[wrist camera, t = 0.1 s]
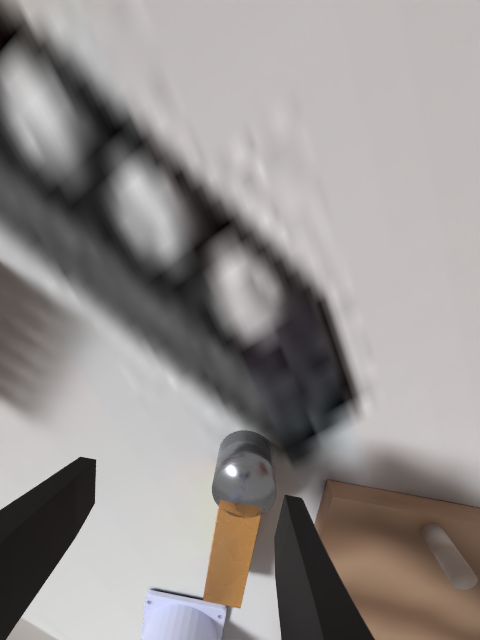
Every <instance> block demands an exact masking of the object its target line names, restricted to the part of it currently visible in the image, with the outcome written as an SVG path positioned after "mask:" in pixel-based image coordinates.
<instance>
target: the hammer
mask: <svg viewBox="0 0 480 640" xmlns="http://www.w3.org/2000/svg"><path fill="white" fill-rule="evenodd" d="M212 494H213V498H214V500H215V502H216V503H217V505H218V511H217V517H216V522H215V528H214V534H213V540H212V546H211V552H210V558H209V565H208V571H207V578H206V584H205V590H204V597H203V601H206V602H211V603H216V604H221V605H226V606H231V607H236V608H241V603H242V599H243V594H244V590H245V585H246V581H247V576H248V572H249V567H250V563H251V558H252V553H253V549H254V544H255V540H256V535H257V531H258V526H259V522H260V517H261V514H263V513H265V512H266V511H267V510H268V509H269V508H270V507H271V506H272V505H273V503H274V501H275V497H276V487H275V477H274V466H273V455H272V449H271V446H270V444H269V443H268V441H267V440H266V439H265V438H264V437H263V436H261V435H260V434H258V433H255V432H252V431H237V432H234V433H232V434H230V435H228V436H227V437H226V438H225V439H224V440H223V441H222V443H221V445H220V449H219V454H218V459H217V464H216V469H215V474H214V480H213V485H212Z"/></svg>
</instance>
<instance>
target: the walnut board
mask: <svg viewBox="0 0 480 640" xmlns="http://www.w3.org/2000/svg"><path fill="white" fill-rule="evenodd" d="M314 526H315V528H316V530H317V532H318V534H319V536H320V538H321V541H322V543H323V545H324V547H325V549H326V551H327V553H328V555H329V557H330V559H331V561H332V563H333V564H334V566H335V568H336V570H337V572H338V574H339V576H340V578H341V580H342V582H343V584H344V586H345V587H346V589H347V591H348V593H349V595H350V597H351V598H352V600H353V602H354V604H355V606H356V607H357V609H358V611H359V613H360V614H361V616H362V618H363V620H364V621H365V623H366V625H367V627H368V628H369V630H370V632H371V633H372V635H373V637H374V639H375V640H480V508H477V507H472V506H466V505H461V504H455V503H450V502H445V501H439V500H434V499H428V498H423V497H417V496H412V495H407V494H401V493H396V492H390V491H385V490H379V489H374V488H369V487H363V486H358V485H352V484H347V483H342V482H336V481H331V480H327V482H326V486H325V489H324V493H323V496H322V500H321V503H320V507H319V510H318V514H317V517H316V521H315V524H314ZM281 640H282V639H281Z"/></svg>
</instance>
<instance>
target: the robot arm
mask: <svg viewBox="0 0 480 640" xmlns="http://www.w3.org/2000/svg"><path fill="white" fill-rule="evenodd" d="M95 477H96V460H95V459H90V458H84V457H79V458H78V459H76V460H75V461H73V462H72V463H70V464H69V465H67V466H66V467H64V468H63V469H61V470H60V471H58V472H57V473H55V474H54V475H52V476H51V477H50V478H48V479H47V480H45V481H44V482H42V483H41V484H39V485H38V486H36V487H35V488H33V489H32V490H30V491H29V492H27V493H26V494H24V495H23V496H21V497H19V498H18V499H16V500H15V501H13V502H12V503H10V504H9V505H7V506H6V507H4V508H3V509H1V510H0V640H6V639H7V637H8V636H9V634H10V633H11V631H12V630H13V628H14V626H15V625H16V623H17V622H18V621H19V619H20V618H21V616H22V615H23V613H24V612H25V610H26V609H27V608H28V606H29V605H30V603H31V602H32V600H33V599H34V597H35V596H36V594H37V593H38V592H39V590H40V589H41V587H42V586H43V584H44V583H45V581H46V580H47V578H48V577H49V576H50V574H51V573H52V571H53V570H54V568H55V567H56V565H57V564H58V562H59V561H60V560H61V558H62V557H63V555H64V554H65V552H66V551H67V549H68V548H69V546H70V545H71V543H72V542H73V540H74V539H75V537H76V536H77V534H78V532H79V530H80V529H81V527H82V525H83V524H84V522H85V520H86V518H87V516H88V515H89V513H90V511H91V509H92V507H93V505H94V504H95ZM275 578H276V588H277V598H278V608H279V618H280V628H281V638H282V640H375V639H374V637H373V635H372V633H371V632H370V630H369V628H368V627H367V625H366V623H365V621H364V620H363V618H362V616H361V614H360V613H359V611H358V609H357V607H356V606H355V604H354V602H353V600H352V598H351V597H350V595H349V593H348V591H347V589H346V587H345V586H344V584H343V582H342V580H341V578H340V576H339V574H338V572H337V570H336V568H335V566H334V564H333V563H332V561H331V559H330V557H329V555H328V553H327V551H326V549H325V547H324V545H323V543H322V541H321V538H320V536H319V534H318V532H317V530H316V528H315V526H314V524H313V521H312V519H311V517H310V515H309V512H308V510H307V508H306V506H305V503H304V501H303V500H302V498H299V497H294V496H289V495H285V496H284V500H283V504H282V509H281V513H280V517H279V521H278V525H277V529H276V534H275ZM226 613H227V608H226V606H225V605H221V604H216V603H211V602H206V601H203V600H198V599H193V598H188V597H183V596H178V595H173V594H168V593H164V592H159V591H154V590H149V591H148V592H147V594H146V597H145V606H144V616H143V626H142V637H141V640H221V638H222V633H223V628H224V623H225V618H226Z"/></svg>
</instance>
